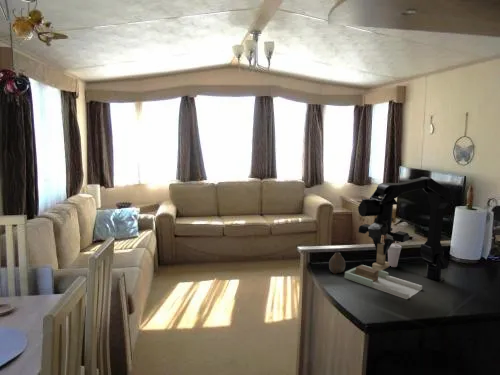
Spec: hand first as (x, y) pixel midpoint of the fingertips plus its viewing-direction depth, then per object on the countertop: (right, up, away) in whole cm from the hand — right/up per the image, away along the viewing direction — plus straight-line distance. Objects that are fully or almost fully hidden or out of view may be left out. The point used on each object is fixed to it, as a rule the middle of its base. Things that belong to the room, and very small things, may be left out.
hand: (381, 253), depth 147 cm
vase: (-15, -11, +14) cm, 23 cm away
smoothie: (+14, -10, +24) cm, 30 cm away
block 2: (-3, -11, +4) cm, 12 cm away
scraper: (0, -6, +1) cm, 6 cm away
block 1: (-6, -11, +7) cm, 14 cm away
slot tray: (0, -13, +1) cm, 13 cm away
